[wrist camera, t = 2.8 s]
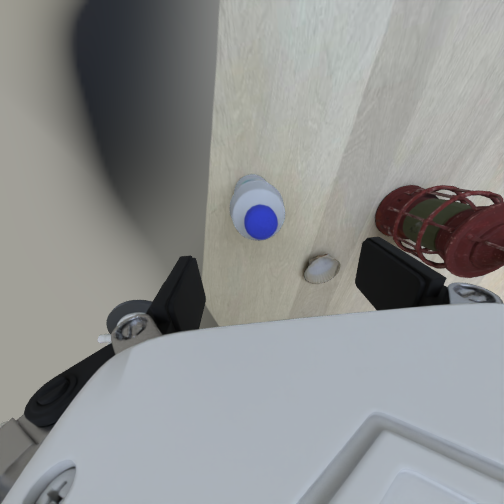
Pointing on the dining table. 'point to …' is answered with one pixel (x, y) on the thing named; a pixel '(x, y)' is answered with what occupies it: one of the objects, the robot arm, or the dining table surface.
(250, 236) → the bottle
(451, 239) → the lantern
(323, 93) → the dining table surface
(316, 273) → the seashell
